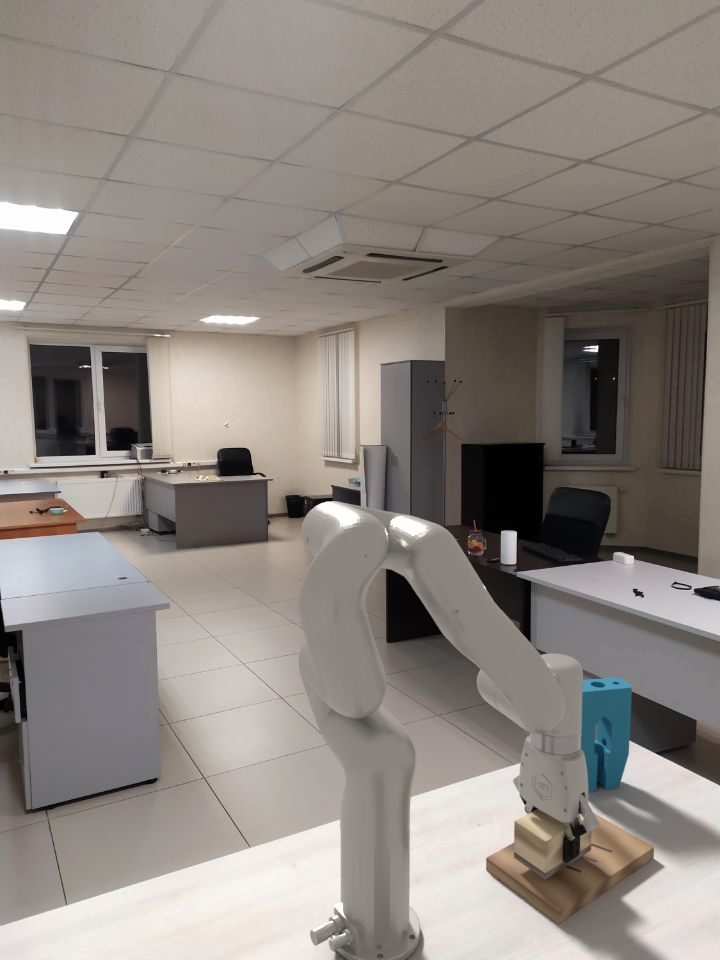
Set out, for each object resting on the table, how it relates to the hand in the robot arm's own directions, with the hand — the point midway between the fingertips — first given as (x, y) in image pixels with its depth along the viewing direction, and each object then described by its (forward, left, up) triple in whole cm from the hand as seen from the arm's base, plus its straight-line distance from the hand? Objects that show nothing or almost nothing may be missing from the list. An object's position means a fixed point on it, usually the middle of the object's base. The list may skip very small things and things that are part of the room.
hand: (552, 846), depth 105 cm
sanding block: (0, 0, -1) cm, 1 cm away
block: (+28, +12, -5) cm, 31 cm away
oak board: (+5, 0, -5) cm, 7 cm away
